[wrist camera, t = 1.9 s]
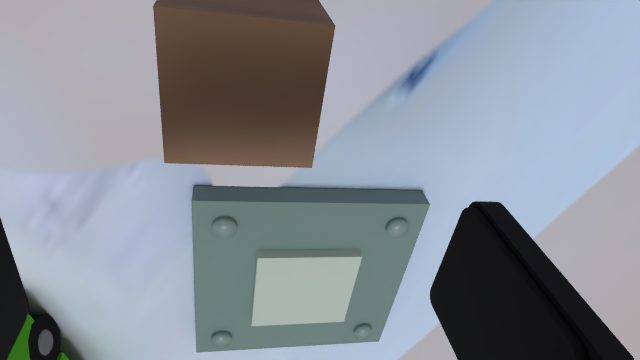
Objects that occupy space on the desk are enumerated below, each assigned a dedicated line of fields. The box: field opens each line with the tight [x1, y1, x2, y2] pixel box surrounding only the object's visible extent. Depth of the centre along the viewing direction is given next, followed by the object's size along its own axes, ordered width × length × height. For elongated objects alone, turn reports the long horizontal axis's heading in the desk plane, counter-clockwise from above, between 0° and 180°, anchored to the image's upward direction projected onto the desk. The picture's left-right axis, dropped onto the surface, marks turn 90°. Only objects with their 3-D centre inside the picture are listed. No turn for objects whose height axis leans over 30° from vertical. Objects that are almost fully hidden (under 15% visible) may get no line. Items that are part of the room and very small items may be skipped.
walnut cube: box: [153, 0, 335, 168], centre depth 15 cm, size 5×5×5 cm
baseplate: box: [192, 186, 430, 352], centre depth 25 cm, size 12×12×2 cm
